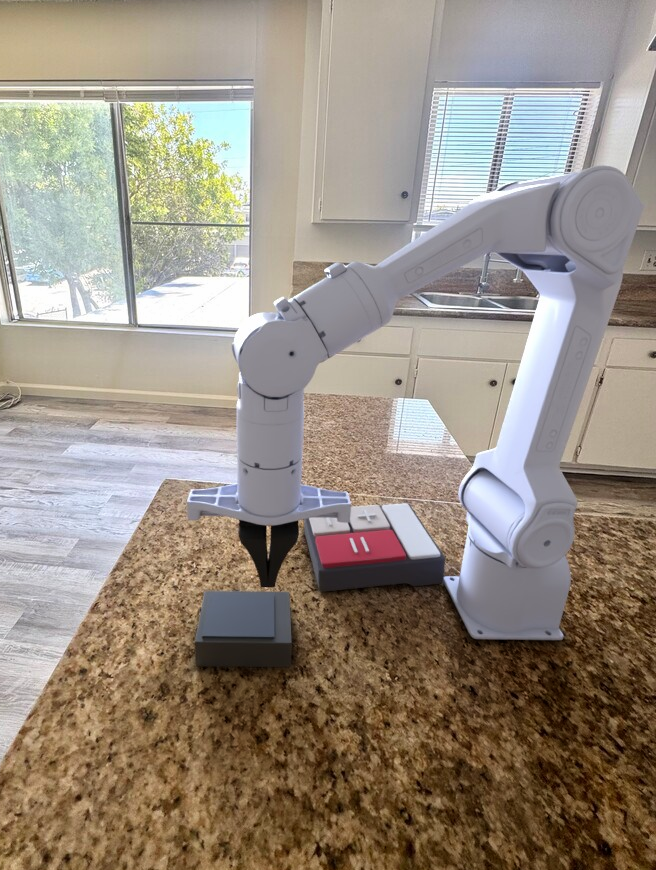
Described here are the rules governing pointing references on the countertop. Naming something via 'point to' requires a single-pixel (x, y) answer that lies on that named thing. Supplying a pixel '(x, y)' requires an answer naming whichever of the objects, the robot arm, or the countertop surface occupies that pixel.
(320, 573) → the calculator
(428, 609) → the countertop surface
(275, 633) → the block
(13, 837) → the countertop surface
